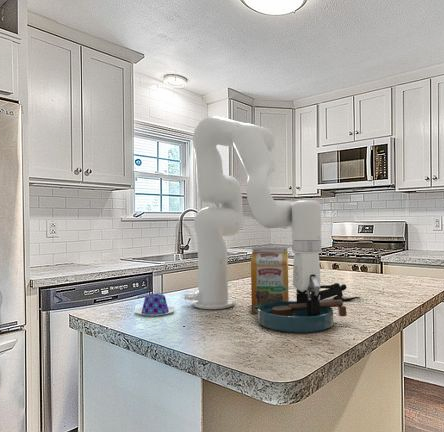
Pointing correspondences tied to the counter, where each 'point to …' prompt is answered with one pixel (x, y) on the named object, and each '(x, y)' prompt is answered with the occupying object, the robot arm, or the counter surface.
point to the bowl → (294, 319)
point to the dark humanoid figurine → (334, 292)
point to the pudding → (155, 306)
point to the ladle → (303, 306)
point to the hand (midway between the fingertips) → (307, 311)
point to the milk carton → (269, 276)
